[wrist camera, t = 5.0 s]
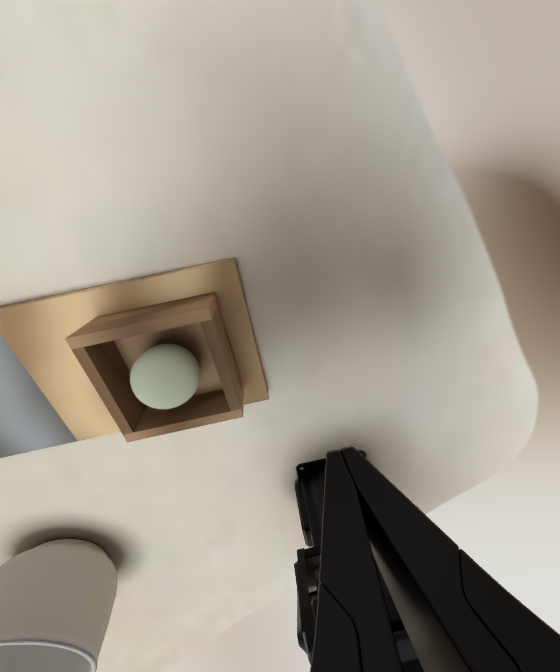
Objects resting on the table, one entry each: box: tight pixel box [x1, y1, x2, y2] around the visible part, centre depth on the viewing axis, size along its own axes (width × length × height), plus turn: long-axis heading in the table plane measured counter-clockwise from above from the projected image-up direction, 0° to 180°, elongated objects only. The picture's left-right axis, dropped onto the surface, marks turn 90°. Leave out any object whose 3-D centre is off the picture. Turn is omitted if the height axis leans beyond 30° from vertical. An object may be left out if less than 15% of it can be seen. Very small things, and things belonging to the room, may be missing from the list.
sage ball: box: [130, 344, 200, 409], centre depth 15 cm, size 4×4×4 cm
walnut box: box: [65, 292, 244, 442], centre depth 16 cm, size 7×7×3 cm
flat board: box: [0, 258, 269, 458], centre depth 17 cm, size 24×10×1 cm, turn 100°
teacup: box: [0, 539, 118, 672], centre depth 23 cm, size 14×11×8 cm
